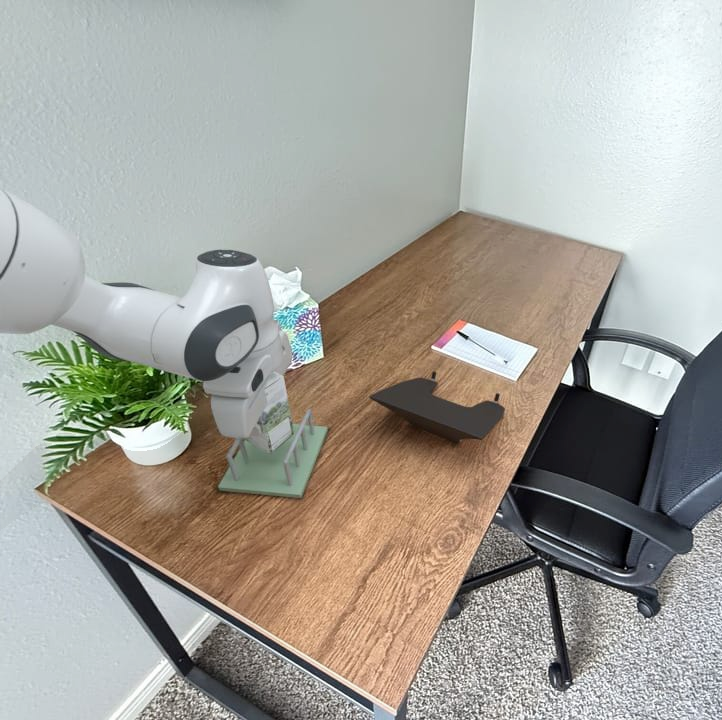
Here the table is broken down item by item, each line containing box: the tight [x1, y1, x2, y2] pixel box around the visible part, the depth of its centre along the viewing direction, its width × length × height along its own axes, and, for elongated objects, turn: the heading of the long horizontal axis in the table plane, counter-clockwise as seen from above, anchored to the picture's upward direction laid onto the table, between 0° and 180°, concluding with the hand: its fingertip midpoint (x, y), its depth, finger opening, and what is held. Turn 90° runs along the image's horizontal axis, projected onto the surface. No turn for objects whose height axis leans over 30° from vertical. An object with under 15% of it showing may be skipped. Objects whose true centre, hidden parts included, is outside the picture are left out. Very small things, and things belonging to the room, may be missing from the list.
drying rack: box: [217, 408, 329, 499], centre depth 84 cm, size 16×14×7 cm
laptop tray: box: [369, 370, 506, 444], centre depth 95 cm, size 23×23×9 cm
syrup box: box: [245, 371, 294, 454], centre depth 78 cm, size 6×6×14 cm
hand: (266, 415), depth 79 cm, fingers closed on syrup box, 7 cm apart
